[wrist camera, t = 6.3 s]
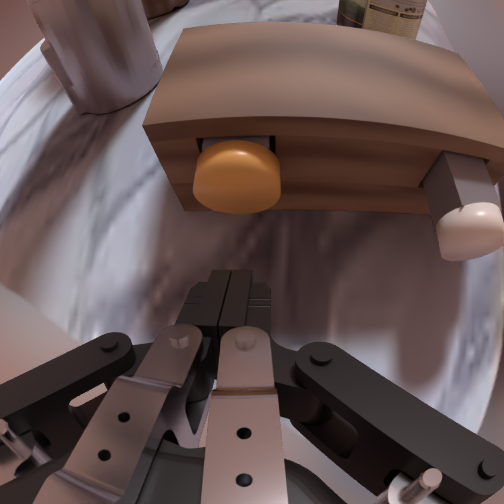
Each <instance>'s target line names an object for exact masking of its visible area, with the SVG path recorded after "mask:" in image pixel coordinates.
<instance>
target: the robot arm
mask: <svg viewBox="0 0 504 504" xmlns="http://www.w3.org/2000/svg"><path fill="white" fill-rule="evenodd" d="M25 1H26V3H27V5H28V7H29V8H30V10H31V13H32V15H33V17H34V19H35V21H36V23H37V24H38V26H39V28H40V30H41V32H42V34H43V36H44V38H45V41H44V42H43V43H42V45H41V47H40V50H41V52H42V54H43V56H44V58H45V59H46V61H47V63H48V65H49V66H50V68H51V70H52V71H53V73H54V75H55V76H56V78H57V80H58V81H59V83H60V85H61V86H62V88H63V90H64V91H65V93H66V94H67V96H68V98H69V99H70V101H71V102H72V104H73V106H74V107H75V109H76V110H77V112H78V113H79V115H80V114H83V113H86V112H90V113H94V114H103V113H108V112H112V111H115V110H118V109H120V108H123V107H125V106H127V105H129V104H131V103H133V102H135V101H137V100H138V99H140V98H141V97H142V96H144V95H145V94H147V93H148V92H149V91H150V90H151V89H152V88H153V87H154V86H155V85H156V84H157V83H158V81H159V80H160V78H161V76H162V73H163V69H162V65H161V62H160V59H159V54H158V51H157V50H156V47H155V43H154V40H153V37H152V34H151V31H150V27H149V24H148V21H147V18H146V15H145V12H144V8H143V5H142V2H141V0H25ZM270 318H271V290H270V288H269V287H268V286H267V284H266V283H253V282H252V270H233V271H232V270H212V273H211V275H210V278H209V280H208V282H199V283H197V284H196V285H195V286H194V287H192V288H191V290H190V292H189V294H188V296H187V298H186V300H185V303H184V305H183V307H182V309H181V312H180V314H179V316H178V318H177V320H176V323H175V325H171V326H169V327H167V328H165V329H163V330H162V331H161V332H160V333H159V334H158V336H157V338H156V339H155V341H154V342H152V343H146V344H139V345H132V342H131V339H130V338H129V337H128V336H127V335H125V334H123V333H119V332H112V333H107V334H104V335H102V336H100V337H97V338H95V339H93V340H91V341H89V342H87V343H85V344H83V345H81V346H79V347H77V348H75V349H73V350H71V351H69V352H67V353H65V354H63V355H61V356H59V357H57V358H55V359H52V360H50V361H48V362H46V363H44V364H42V365H40V366H38V367H36V368H34V369H32V370H30V371H28V372H26V373H24V374H22V375H19V376H17V377H15V378H14V379H11V380H9V381H7V382H5V383H3V384H1V385H0V504H347V503H346V502H345V501H344V500H342V499H341V498H340V497H339V496H338V495H337V494H336V493H335V492H334V491H333V490H331V489H330V488H329V487H328V486H327V485H326V484H325V483H324V482H323V481H322V480H321V479H320V478H319V477H318V476H316V475H315V474H314V473H312V472H311V471H309V470H308V469H307V468H305V467H303V466H301V465H300V464H297V463H295V462H293V461H290V460H287V459H284V454H283V445H282V434H281V424H280V417H284V418H288V419H290V422H291V424H292V425H293V426H294V427H295V428H296V429H297V430H298V431H299V432H300V433H301V434H302V435H303V436H304V437H305V438H307V439H308V440H309V441H310V442H311V443H312V444H313V445H314V446H315V447H317V448H318V449H319V450H320V451H321V452H322V453H324V454H325V455H326V456H327V457H328V458H329V459H331V460H332V461H333V462H334V463H335V464H336V465H338V466H339V467H340V468H341V469H342V470H344V471H345V472H346V473H347V474H348V475H350V476H351V477H352V478H353V479H355V480H356V481H357V482H358V483H360V484H361V485H362V486H364V487H365V488H366V489H367V490H369V491H370V492H371V493H373V494H374V495H375V496H377V498H376V501H375V504H481V503H482V502H483V501H485V500H486V499H488V498H489V497H491V496H492V495H493V494H495V493H496V492H497V491H498V490H500V489H501V488H502V487H503V486H504V451H503V450H502V449H500V448H499V447H497V446H495V445H494V444H492V443H490V442H488V441H486V440H485V439H483V438H482V437H480V436H478V435H477V434H475V433H473V432H471V431H470V430H468V429H466V428H465V427H463V426H461V425H460V424H458V423H456V422H455V421H453V420H452V419H450V418H448V417H447V416H445V415H443V414H442V413H440V412H438V411H437V410H435V409H434V408H432V407H430V406H429V405H427V404H426V403H424V402H422V401H421V400H419V399H418V398H416V397H414V396H413V395H411V394H410V393H408V392H407V391H405V390H403V389H402V388H400V387H399V386H397V385H396V384H394V383H392V382H391V381H389V380H388V379H386V378H385V377H383V376H382V375H380V374H378V373H377V372H375V371H374V370H372V369H371V368H369V367H368V366H366V365H365V364H363V363H362V362H360V361H359V360H357V359H356V358H354V357H353V356H351V355H350V354H348V353H347V352H345V351H344V350H342V349H341V348H339V347H337V346H336V345H333V344H330V343H326V342H314V343H309V344H307V345H305V346H303V347H301V348H300V349H299V350H298V351H293V350H289V349H286V348H283V347H281V346H279V345H278V344H277V343H275V342H274V341H273V339H272V338H271V335H270ZM214 379H217V385H216V389H213V390H212V388H213V384H214ZM102 383H104V384H105V386H106V388H107V390H108V391H106V392H105V393H103V394H101V395H99V396H97V397H95V398H94V399H92V400H90V401H88V402H86V403H84V404H82V405H81V406H78V407H73V406H70V405H69V403H70V401H71V400H72V399H74V398H76V397H77V396H79V395H81V394H83V393H85V392H87V391H89V390H91V389H92V388H94V387H96V386H98V385H100V384H102ZM209 408H210V410H209ZM208 411H209V419H208V429H207V439H206V447H203V448H199V441H200V437H201V434H202V431H203V427H204V424H205V421H206V418H207V414H208Z"/></svg>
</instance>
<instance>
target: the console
mask: <svg viewBox="0 0 504 504" xmlns="http://www.w3.org/2000/svg"><path fill="white" fill-rule="evenodd" d="M142 126H143V128H144V130H145V132H146V134H147V136H148V139H149V141H150V143H151V145H152V147H153V149H154V151H155V153H156V155H157V157H158V159H159V161H160V163H161V165H162V167H163V169H164V171H165V173H166V175H167V177H168V179H169V181H170V183H171V185H172V186H173V188H174V190H175V192H176V194H177V196H178V198H179V200H180V202H181V204H182V206H183V208H184V210H185V211H195V210H212V209H210V208H208V207H206V206H204V205H203V204H201V203H200V202H199V201H198V200H197V199H196V198H195V196H194V194H193V184H194V178H195V171H196V165H197V160H198V157H199V155H200V154H201V153H202V144H203V138H206V137H225V136H259V135H269V150H270V151H272V152H273V153H274V154H275V156H276V157H277V158H278V160H279V163H280V186H281V195H280V198H279V200H278V201H277V203H276V204H275V205H273V206H272V207H270V208H268V209H266V210H337V211H368V212H392V213H412V214H429V215H431V213H430V209H429V205H428V201H427V198H426V194H425V190H424V187H423V183H422V179H423V178H424V177H425V175H426V174H427V172H428V171H429V169H430V168H431V166H432V165H433V163H434V162H435V160H436V159H437V157H438V156H439V154H440V153H441V151H442V150H446V151H452V152H457V153H462V154H467V155H471V156H476V157H480V158H483V161H484V163H485V165H486V168H487V170H488V173H489V175H490V178H491V180H492V183H493V186H494V185H495V184H496V183H497V182H498V181H499V180H500V179H501V178H502V177H503V176H504V118H503V116H502V115H501V113H500V111H499V110H498V108H497V106H496V105H495V103H494V102H493V100H492V99H491V97H490V96H489V94H488V92H487V91H486V90H485V88H484V87H483V85H482V84H481V83H480V81H479V80H478V78H477V77H476V76H475V74H474V73H473V71H472V70H471V69H470V68H469V66H468V65H467V64H466V63H465V61H464V60H463V59H462V57H461V56H460V55H459V54H458V53H455V52H452V51H450V50H447V49H444V48H440V47H437V46H434V45H431V44H427V43H424V42H420V41H417V40H413V39H409V38H405V37H401V36H396V35H392V34H387V33H382V32H377V31H372V30H366V29H360V28H353V27H345V26H337V25H328V24H316V23H300V22H245V23H229V24H217V25H208V26H199V27H192V28H185V29H183V31H182V33H181V35H180V37H179V39H178V41H177V43H176V45H175V47H174V49H173V52H172V54H171V56H170V58H169V60H168V62H167V65H166V67H165V69H164V71H163V74H162V76H161V78H160V81H159V83H158V86H157V88H156V90H155V93H154V95H153V98H152V100H151V103H150V106H149V108H148V111H147V114H146V116H145V119H144V122H143V125H142Z"/></svg>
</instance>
